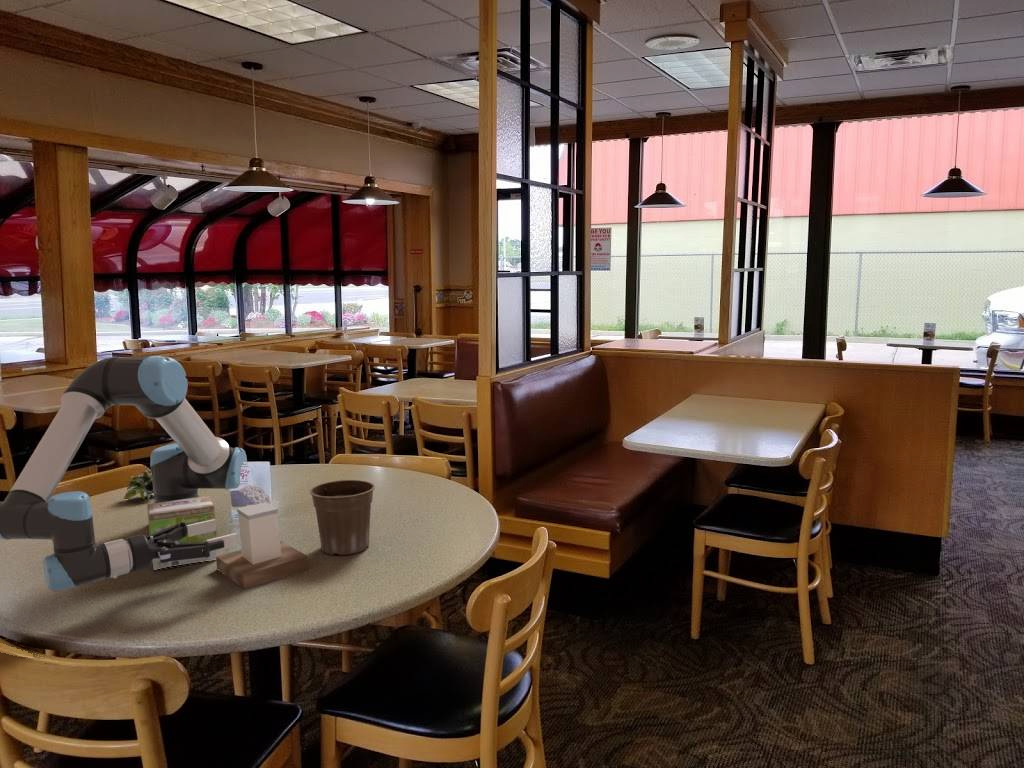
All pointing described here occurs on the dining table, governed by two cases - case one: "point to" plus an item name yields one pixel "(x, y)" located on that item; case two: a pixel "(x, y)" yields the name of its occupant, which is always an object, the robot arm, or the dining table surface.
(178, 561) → the tea box
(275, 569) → the block
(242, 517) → the white lidded box
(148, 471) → the green leafy plant
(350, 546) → the plant pot
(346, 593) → the dining table surface
